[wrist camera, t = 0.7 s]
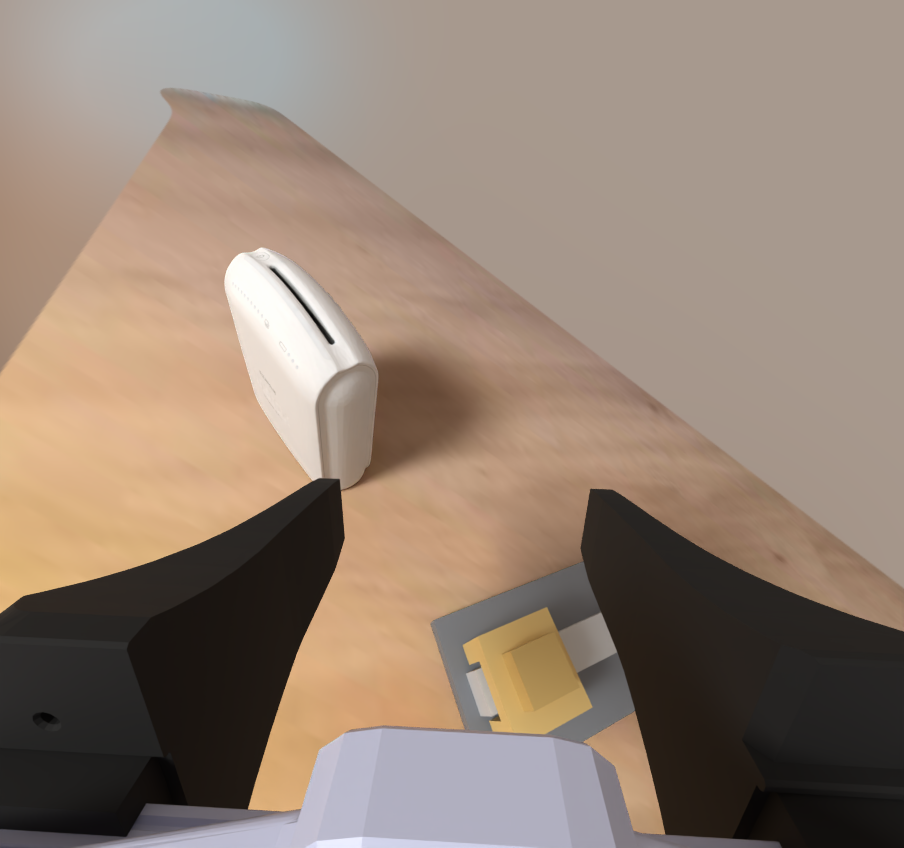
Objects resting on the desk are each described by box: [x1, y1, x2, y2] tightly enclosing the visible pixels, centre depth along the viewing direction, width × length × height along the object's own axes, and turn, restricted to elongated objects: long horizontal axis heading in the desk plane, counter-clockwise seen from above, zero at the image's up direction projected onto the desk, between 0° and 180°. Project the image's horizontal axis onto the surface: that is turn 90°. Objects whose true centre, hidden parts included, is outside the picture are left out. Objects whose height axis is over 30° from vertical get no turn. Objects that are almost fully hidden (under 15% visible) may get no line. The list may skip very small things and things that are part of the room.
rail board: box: [430, 561, 635, 742], centre depth 23 cm, size 14×8×5 cm, turn 112°
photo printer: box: [224, 248, 378, 490], centre depth 24 cm, size 10×4×12 cm, turn 40°
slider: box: [463, 607, 593, 734], centre depth 21 cm, size 4×5×4 cm
